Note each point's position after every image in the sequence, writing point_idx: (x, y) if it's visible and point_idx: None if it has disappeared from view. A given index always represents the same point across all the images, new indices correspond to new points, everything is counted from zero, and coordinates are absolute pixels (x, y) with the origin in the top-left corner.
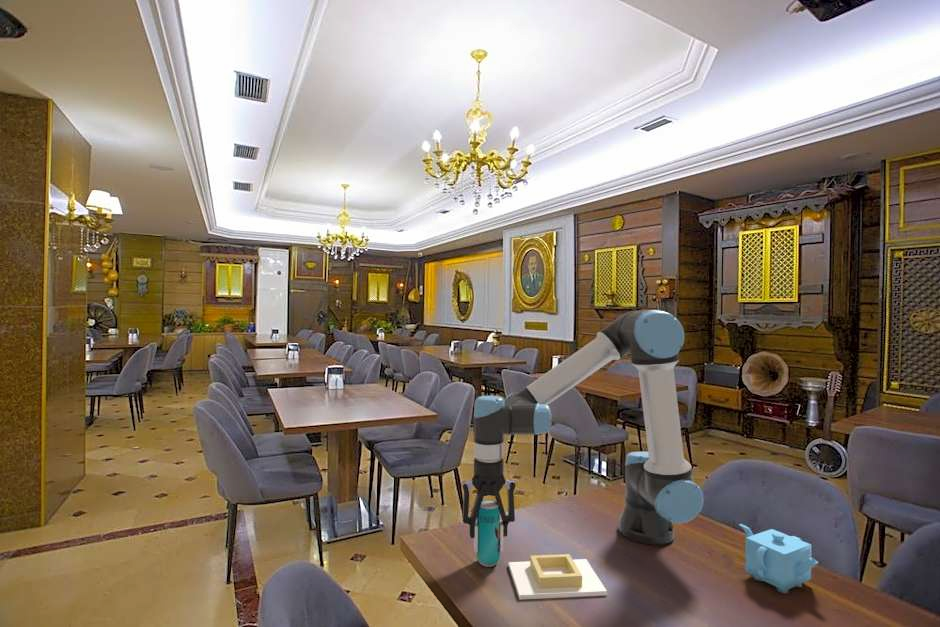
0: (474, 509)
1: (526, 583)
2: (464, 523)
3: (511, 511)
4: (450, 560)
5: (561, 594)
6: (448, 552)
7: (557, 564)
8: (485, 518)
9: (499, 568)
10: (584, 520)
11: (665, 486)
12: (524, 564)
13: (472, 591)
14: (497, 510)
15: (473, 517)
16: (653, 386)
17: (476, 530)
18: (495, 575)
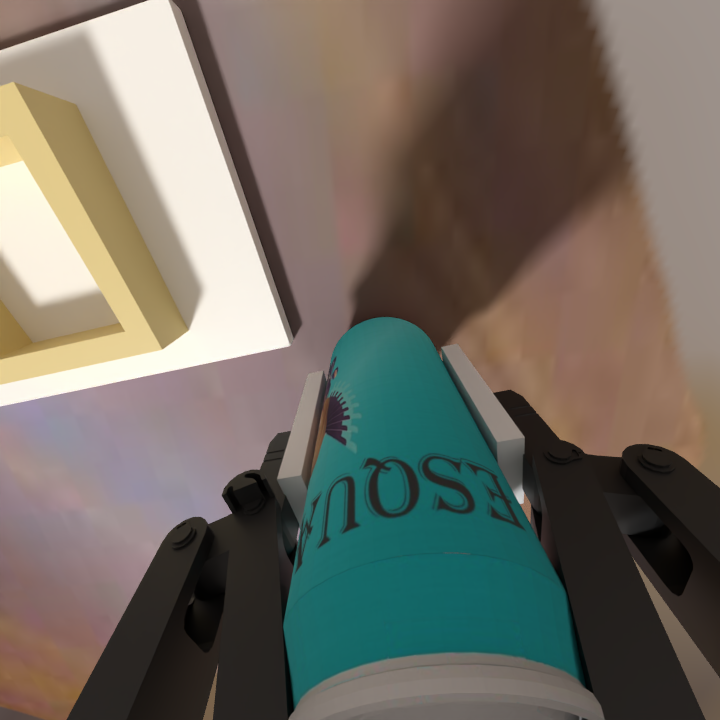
0: (662, 624)
1: (161, 153)
2: (648, 445)
3: (145, 628)
4: (545, 350)
5: None
6: (547, 406)
7: (55, 339)
8: (455, 493)
9: (330, 317)
10: (105, 612)
11: None
12: (216, 337)
13: (452, 69)
14: (299, 631)
15: (591, 509)
16: None
17: (495, 417)
18: (342, 256)
